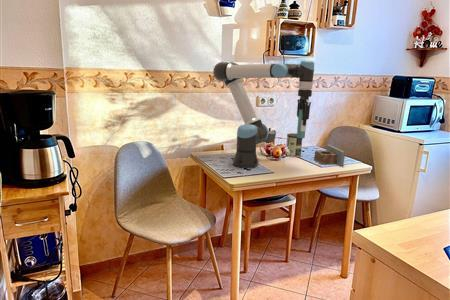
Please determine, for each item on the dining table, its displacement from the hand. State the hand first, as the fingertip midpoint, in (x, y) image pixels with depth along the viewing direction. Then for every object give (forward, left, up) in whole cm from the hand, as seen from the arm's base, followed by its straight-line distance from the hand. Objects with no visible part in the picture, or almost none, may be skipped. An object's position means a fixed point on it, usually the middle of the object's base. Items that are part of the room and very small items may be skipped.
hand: (301, 130), depth 192 cm
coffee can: (+8, +28, -23) cm, 37 cm away
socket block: (+23, +11, -23) cm, 34 cm away
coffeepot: (-8, +32, -23) cm, 40 cm away
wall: (+29, +11, -23) cm, 38 cm away
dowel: (0, 0, -4) cm, 4 cm away
